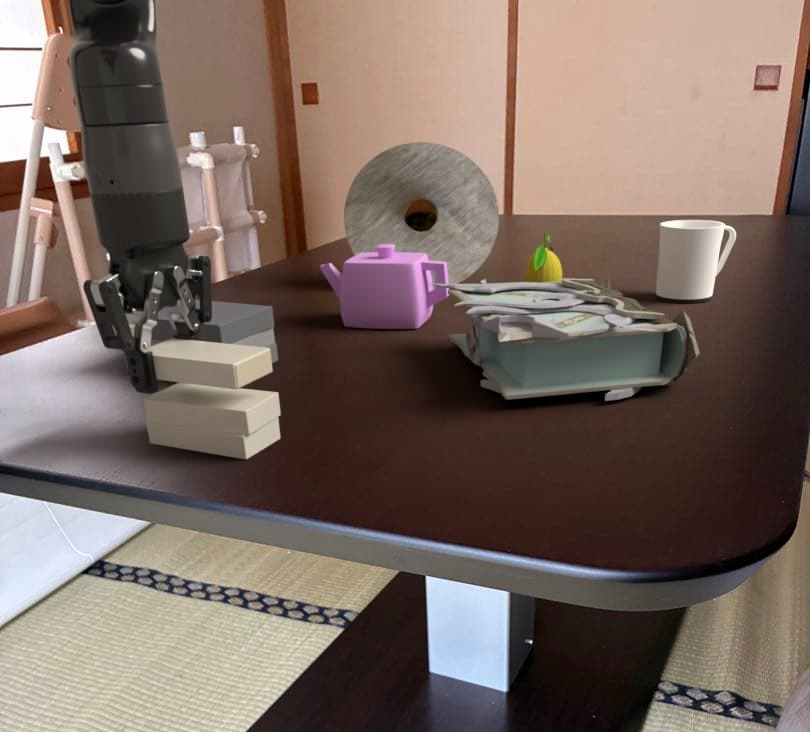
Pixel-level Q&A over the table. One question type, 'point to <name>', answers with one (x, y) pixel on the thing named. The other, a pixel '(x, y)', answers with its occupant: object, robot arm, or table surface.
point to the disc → (424, 207)
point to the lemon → (543, 265)
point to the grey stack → (226, 326)
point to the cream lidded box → (213, 419)
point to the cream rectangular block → (210, 363)
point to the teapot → (387, 288)
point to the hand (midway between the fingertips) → (169, 381)
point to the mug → (690, 259)
